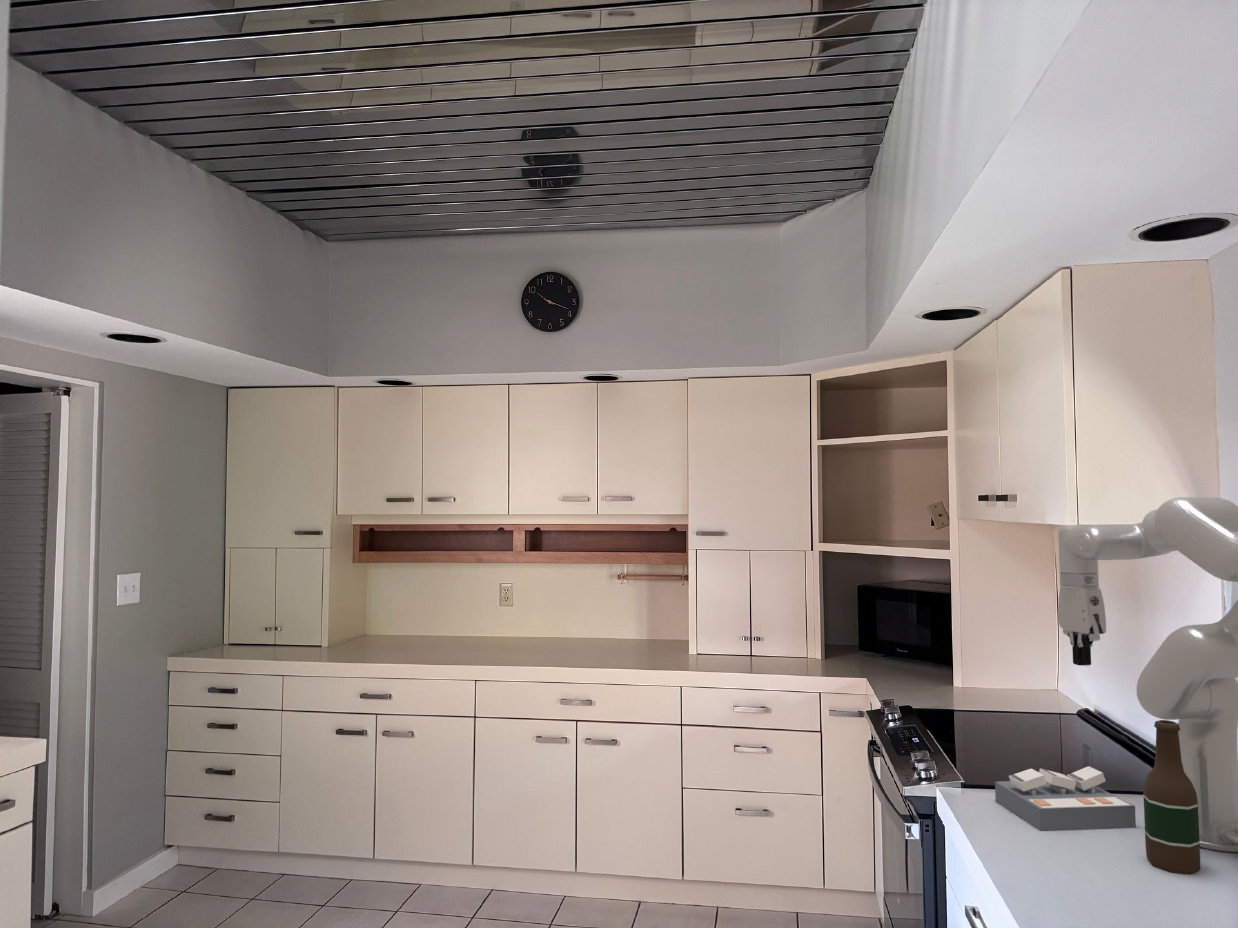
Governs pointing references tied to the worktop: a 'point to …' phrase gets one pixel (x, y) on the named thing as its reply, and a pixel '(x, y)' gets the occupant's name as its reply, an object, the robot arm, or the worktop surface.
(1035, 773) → the rocker
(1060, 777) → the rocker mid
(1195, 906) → the worktop surface
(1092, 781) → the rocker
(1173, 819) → the beer bottle
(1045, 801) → the switch unit
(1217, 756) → the robot arm
